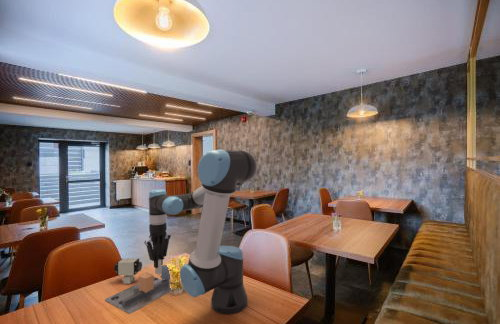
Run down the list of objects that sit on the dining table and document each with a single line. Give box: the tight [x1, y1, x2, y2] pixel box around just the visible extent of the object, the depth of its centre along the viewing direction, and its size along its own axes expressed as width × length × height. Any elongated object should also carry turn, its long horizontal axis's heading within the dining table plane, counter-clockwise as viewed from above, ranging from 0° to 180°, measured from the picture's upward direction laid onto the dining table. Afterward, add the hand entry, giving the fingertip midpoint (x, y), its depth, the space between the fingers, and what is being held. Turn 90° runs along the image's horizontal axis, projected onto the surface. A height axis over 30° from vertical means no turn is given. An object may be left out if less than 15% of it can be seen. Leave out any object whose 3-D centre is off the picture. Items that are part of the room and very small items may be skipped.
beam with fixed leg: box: [122, 264, 171, 307], centre depth 110 cm, size 6×22×8 cm, turn 148°
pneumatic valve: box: [113, 257, 143, 285], centre depth 122 cm, size 6×12×12 cm, turn 89°
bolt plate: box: [104, 276, 172, 315], centre depth 111 cm, size 18×24×1 cm
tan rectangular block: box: [138, 272, 155, 293], centre depth 109 cm, size 6×4×8 cm, turn 58°
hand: (158, 273), depth 114 cm, fingers closed
